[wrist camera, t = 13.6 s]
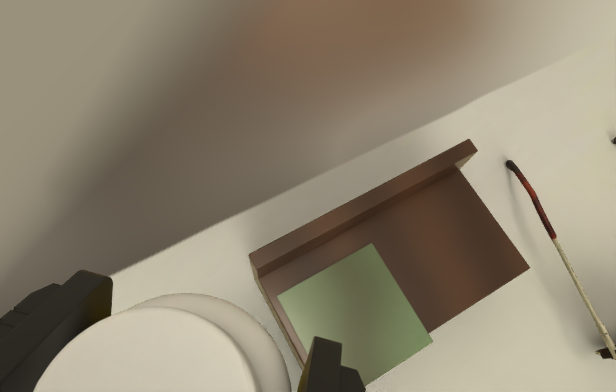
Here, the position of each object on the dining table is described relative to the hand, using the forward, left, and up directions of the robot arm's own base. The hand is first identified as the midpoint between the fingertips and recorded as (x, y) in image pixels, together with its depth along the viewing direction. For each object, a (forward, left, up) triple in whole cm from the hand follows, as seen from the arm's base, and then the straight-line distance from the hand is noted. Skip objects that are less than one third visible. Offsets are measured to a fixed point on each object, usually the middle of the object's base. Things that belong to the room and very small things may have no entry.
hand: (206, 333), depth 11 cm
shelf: (+4, +10, -20) cm, 23 cm away
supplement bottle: (+1, -2, -6) cm, 7 cm away
